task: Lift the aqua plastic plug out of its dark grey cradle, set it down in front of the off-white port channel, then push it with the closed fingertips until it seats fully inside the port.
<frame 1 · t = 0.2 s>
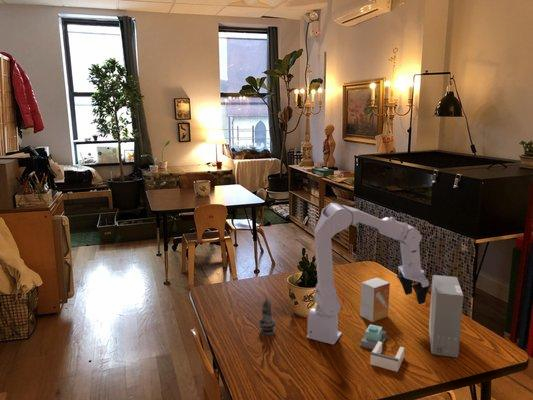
hand: (415, 298, 143), 11 cm above the table, tool pointing down, fingers open, 7 cm apart
plug: (373, 341, 136), resting in cradle
grey ridged spire: (267, 331, 144), on the table
cradle: (373, 341, 136), on the table
small box: (374, 316, 153), on the table
port: (387, 359, 126), on the table
hard drive box: (442, 344, 135), on the table
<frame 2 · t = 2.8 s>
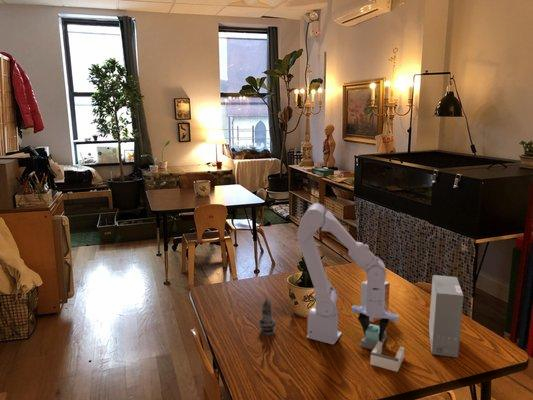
hand: (373, 337, 136), 1 cm above the table, tool pointing down, fingers closed on plug, 4 cm apart
plug: (373, 341, 136), resting in cradle, touching gripper
everything else where it was.
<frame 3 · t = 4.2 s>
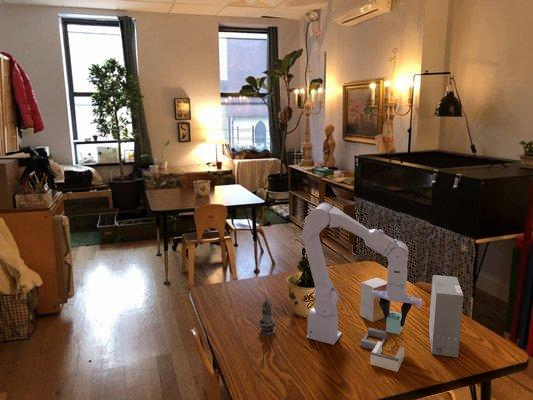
hand: (394, 323, 131), 8 cm above the table, tool pointing down, fingers closed on plug, 4 cm apart
plug: (394, 329, 132), point 6 cm above the table, touching gripper
everything else where it was.
when the fingers open (2 cm above the table, at t = 5.6 s): plug stays where it is, on the table.
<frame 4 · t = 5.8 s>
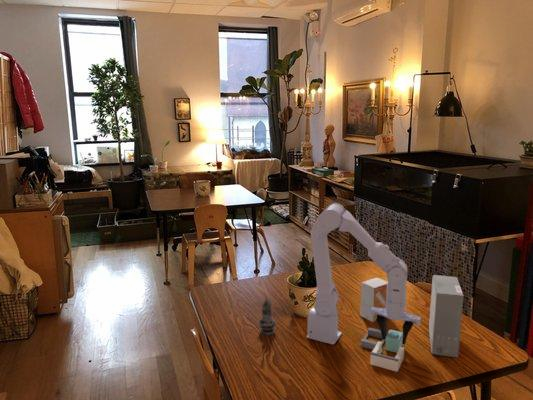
hand: (394, 340, 132), 2 cm above the table, tool pointing down, fingers open, 5 cm apart
plug: (393, 347, 133), on the table
everything else where it was.
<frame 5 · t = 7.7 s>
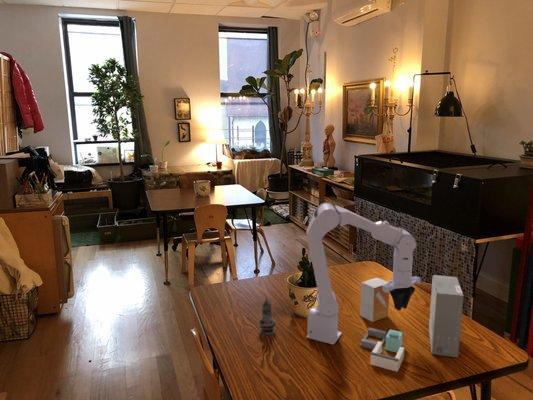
hand: (400, 308, 137), 10 cm above the table, tool pointing down, fingers closed
nothing on the table moved.
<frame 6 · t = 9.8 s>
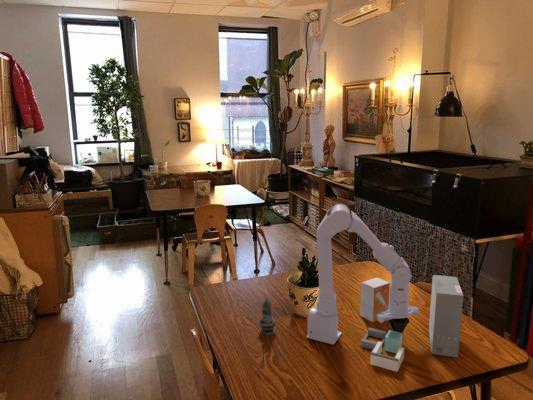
hand: (397, 338, 136), 1 cm above the table, tool pointing down, fingers closed
plug: (393, 348, 132), on the table, touching gripper
everything else where it was.
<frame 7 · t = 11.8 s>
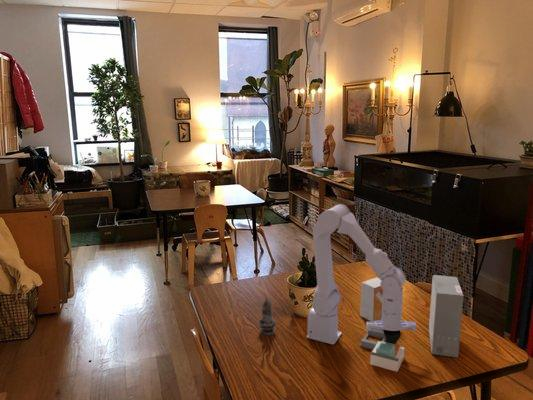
hand: (389, 351, 129), 1 cm above the table, tool pointing down, fingers closed, pressing on plug
plug: (385, 360, 126), resting in port, touching gripper
everything else where it was.
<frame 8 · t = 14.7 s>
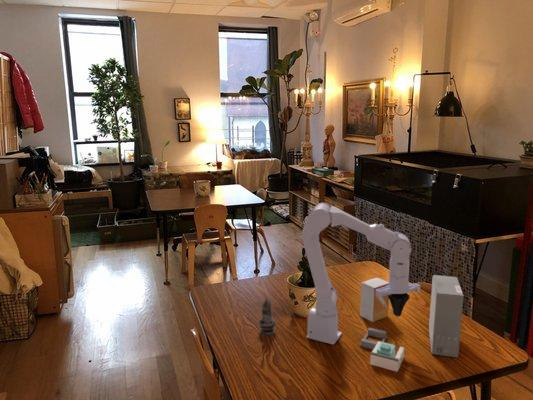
hand: (397, 314, 133), 10 cm above the table, tool pointing down, fingers closed
plug: (385, 361, 126), resting in port
everything else where it was.
at the end: plug 0.7 cm from the target spot on the port, point 0.0 cm above the port's base; plug tilted 0°; the gripper is holding nothing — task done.
